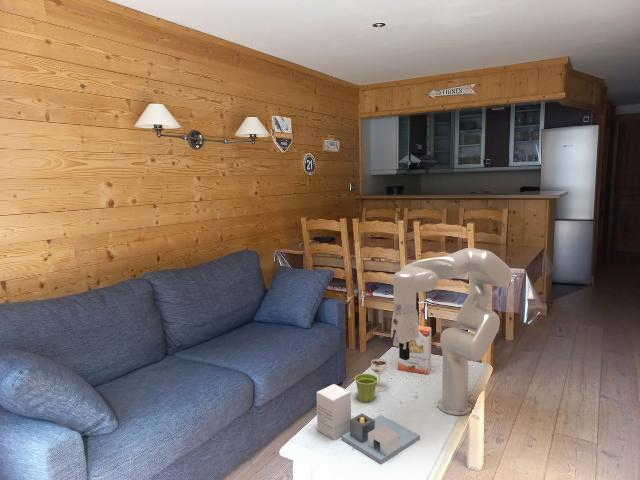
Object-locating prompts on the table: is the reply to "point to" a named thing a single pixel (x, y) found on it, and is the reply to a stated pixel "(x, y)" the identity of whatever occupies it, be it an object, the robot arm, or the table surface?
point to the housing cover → (384, 440)
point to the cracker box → (418, 353)
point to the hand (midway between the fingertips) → (404, 358)
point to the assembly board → (405, 440)
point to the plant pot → (366, 386)
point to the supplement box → (333, 411)
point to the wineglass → (379, 370)
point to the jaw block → (361, 427)
